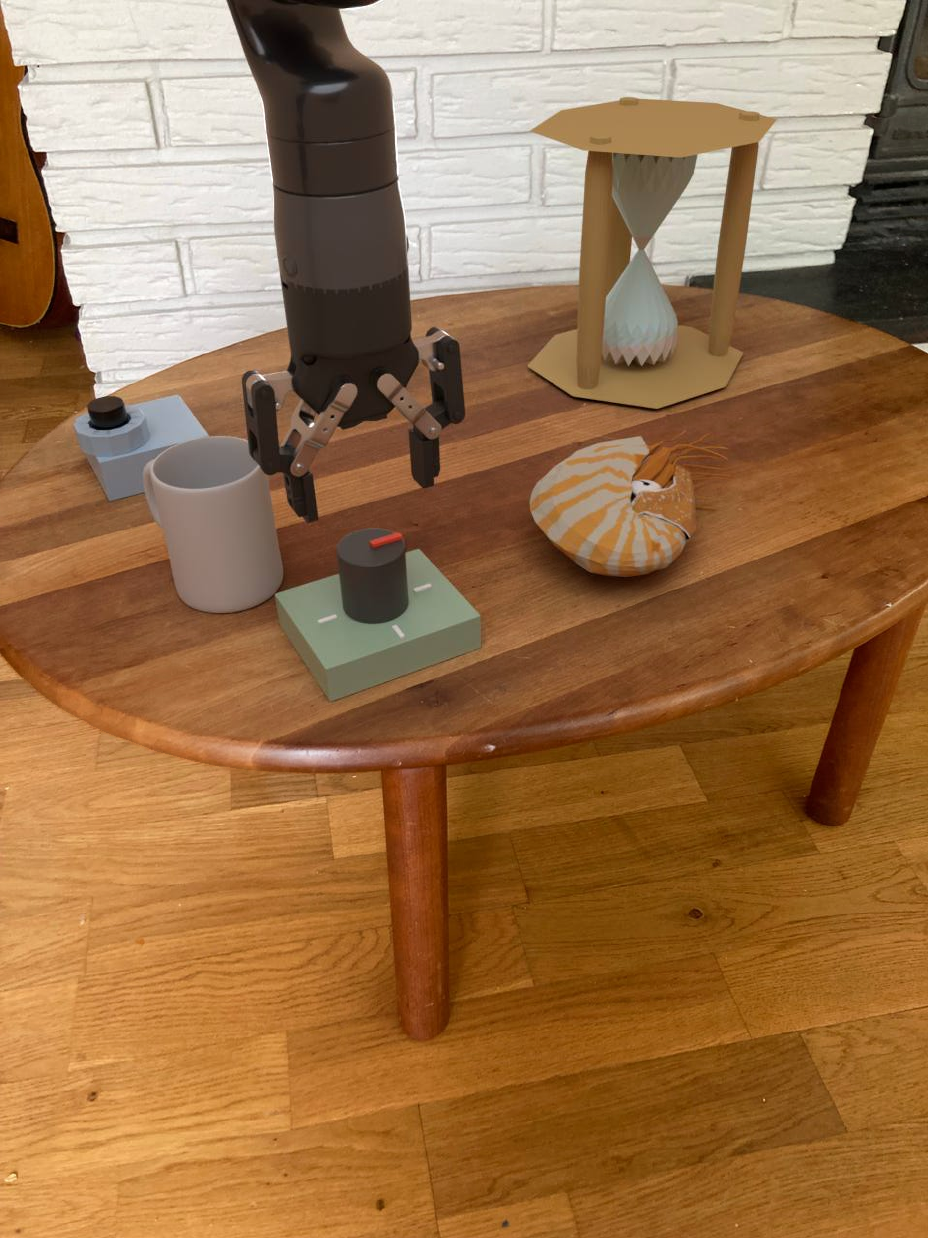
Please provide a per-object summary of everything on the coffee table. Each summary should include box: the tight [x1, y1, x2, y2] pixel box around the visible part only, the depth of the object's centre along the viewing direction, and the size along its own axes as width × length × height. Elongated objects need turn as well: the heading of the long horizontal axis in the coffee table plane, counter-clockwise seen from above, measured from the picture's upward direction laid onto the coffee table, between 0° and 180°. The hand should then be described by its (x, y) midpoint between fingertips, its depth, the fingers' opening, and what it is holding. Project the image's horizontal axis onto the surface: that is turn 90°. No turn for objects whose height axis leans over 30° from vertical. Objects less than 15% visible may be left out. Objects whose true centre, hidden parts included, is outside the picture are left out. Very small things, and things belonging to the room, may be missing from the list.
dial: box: [335, 528, 409, 623], centre depth 74 cm, size 5×5×5 cm
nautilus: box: [529, 428, 735, 578], centre depth 85 cm, size 8×22×15 cm
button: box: [86, 395, 129, 430], centre depth 93 cm, size 3×3×2 cm
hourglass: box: [527, 96, 778, 410], centre depth 107 cm, size 24×22×25 cm
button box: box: [73, 394, 210, 502], centre depth 97 cm, size 11×10×6 cm
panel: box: [274, 548, 482, 703], centre depth 77 cm, size 12×10×3 cm
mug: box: [143, 435, 284, 614], centre depth 81 cm, size 12×8×11 cm
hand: (366, 499), depth 70 cm, fingers open, 8 cm apart
